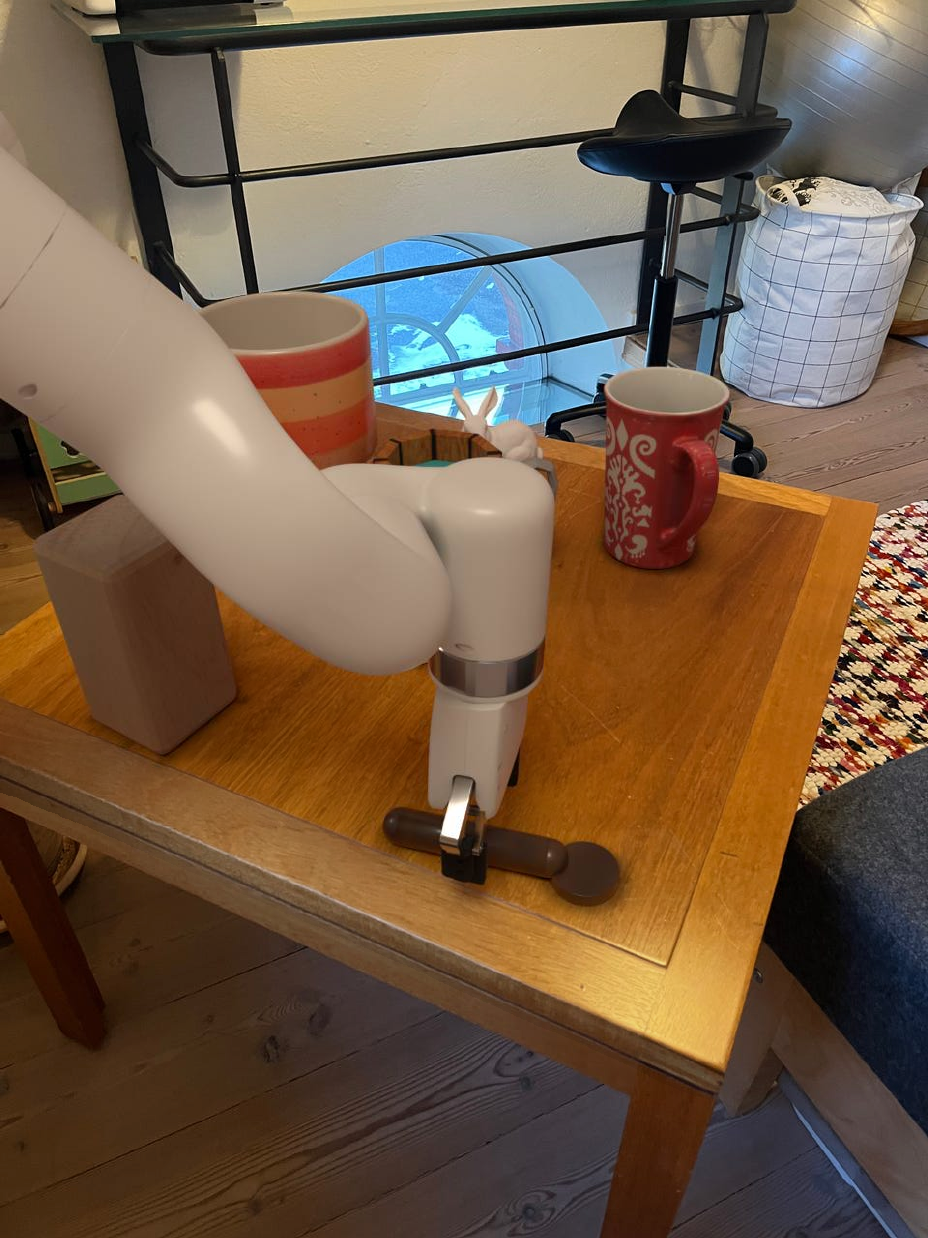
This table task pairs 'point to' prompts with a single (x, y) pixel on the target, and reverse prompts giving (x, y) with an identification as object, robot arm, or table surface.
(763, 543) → the table surface
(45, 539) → the wooden block
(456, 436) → the mug
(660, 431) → the mug
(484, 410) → the rabbit
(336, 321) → the planter
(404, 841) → the spoon
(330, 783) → the table surface
